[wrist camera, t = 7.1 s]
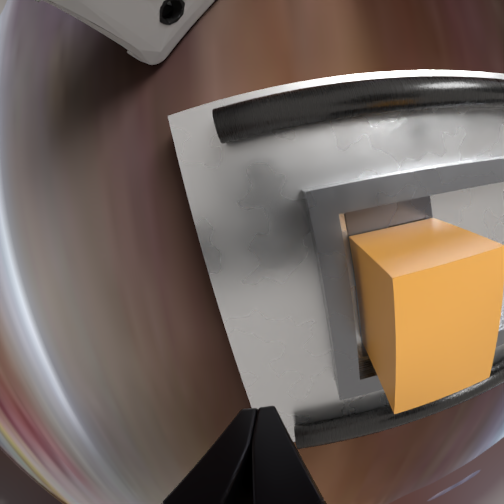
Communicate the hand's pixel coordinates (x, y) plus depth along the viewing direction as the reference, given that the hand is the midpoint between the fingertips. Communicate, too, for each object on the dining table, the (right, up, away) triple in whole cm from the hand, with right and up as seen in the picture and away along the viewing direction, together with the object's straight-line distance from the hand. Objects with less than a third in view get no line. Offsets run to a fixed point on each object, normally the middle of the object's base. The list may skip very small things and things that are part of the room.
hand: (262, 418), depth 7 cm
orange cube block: (+6, +3, +5) cm, 9 cm away
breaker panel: (+10, +4, +7) cm, 13 cm away
